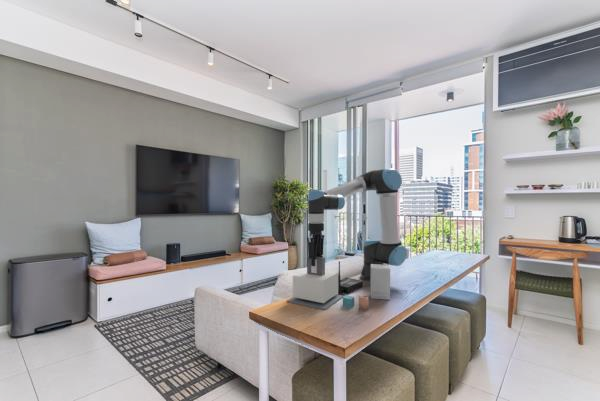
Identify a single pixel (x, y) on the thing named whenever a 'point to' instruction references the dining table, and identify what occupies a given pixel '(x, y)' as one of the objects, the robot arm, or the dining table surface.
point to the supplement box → (380, 281)
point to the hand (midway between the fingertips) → (315, 271)
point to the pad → (316, 304)
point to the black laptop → (348, 284)
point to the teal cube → (348, 301)
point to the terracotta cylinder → (363, 303)
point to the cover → (315, 283)
